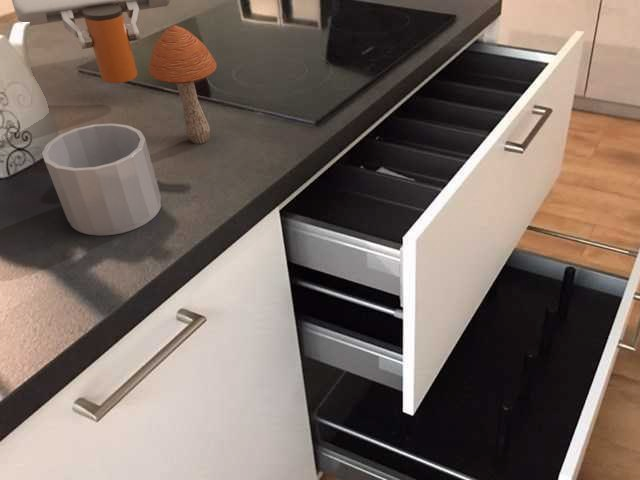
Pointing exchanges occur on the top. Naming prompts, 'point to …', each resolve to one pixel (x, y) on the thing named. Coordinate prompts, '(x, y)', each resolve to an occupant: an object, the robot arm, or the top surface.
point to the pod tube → (110, 42)
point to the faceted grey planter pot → (103, 178)
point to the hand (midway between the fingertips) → (111, 42)
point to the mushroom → (184, 74)
